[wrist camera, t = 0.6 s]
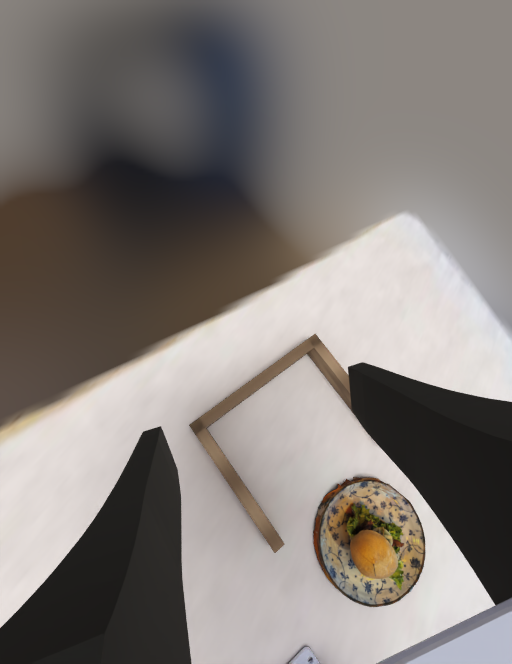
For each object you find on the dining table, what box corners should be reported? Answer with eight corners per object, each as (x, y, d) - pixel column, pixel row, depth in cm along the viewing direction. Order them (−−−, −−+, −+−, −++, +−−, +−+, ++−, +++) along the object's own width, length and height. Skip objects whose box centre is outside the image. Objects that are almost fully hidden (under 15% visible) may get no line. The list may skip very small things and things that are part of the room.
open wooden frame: (385, 438, 39) (398, 439, 36) (269, 543, 35) (274, 553, 32) (308, 340, 42) (315, 333, 39) (191, 425, 37) (189, 425, 34)
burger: (427, 590, 35) (480, 630, 28) (320, 609, 34) (349, 655, 27) (403, 470, 39) (445, 478, 32) (305, 481, 37) (326, 492, 30)
